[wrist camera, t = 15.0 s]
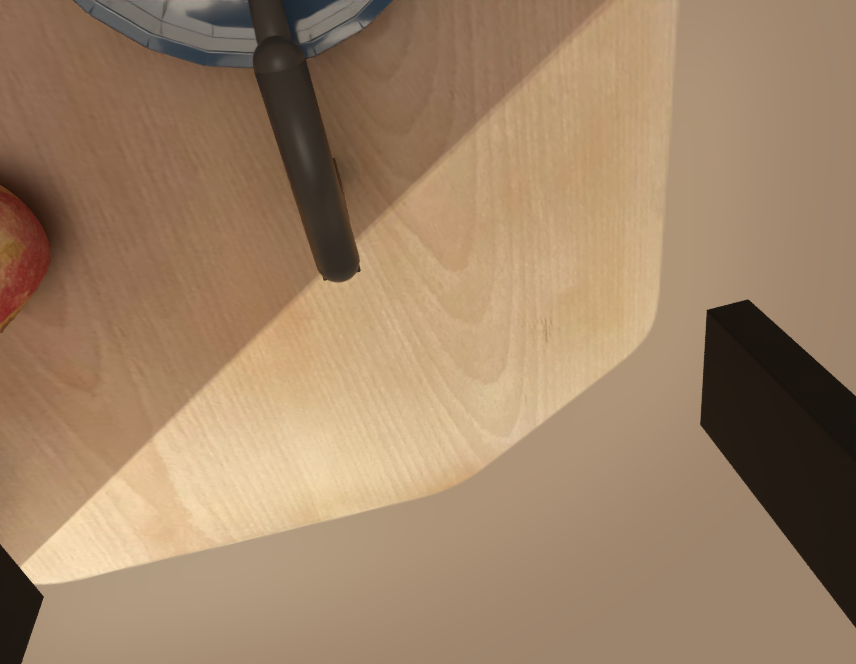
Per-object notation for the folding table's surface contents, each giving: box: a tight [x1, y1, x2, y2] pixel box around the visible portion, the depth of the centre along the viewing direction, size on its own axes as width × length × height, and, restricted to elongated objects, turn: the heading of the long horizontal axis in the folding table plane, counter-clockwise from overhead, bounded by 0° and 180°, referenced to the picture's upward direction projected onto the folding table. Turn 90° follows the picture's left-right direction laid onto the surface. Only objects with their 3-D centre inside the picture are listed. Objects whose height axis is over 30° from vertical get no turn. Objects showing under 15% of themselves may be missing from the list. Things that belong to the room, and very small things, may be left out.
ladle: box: [248, 0, 361, 282], centre depth 27 cm, size 19×6×10 cm, turn 11°
